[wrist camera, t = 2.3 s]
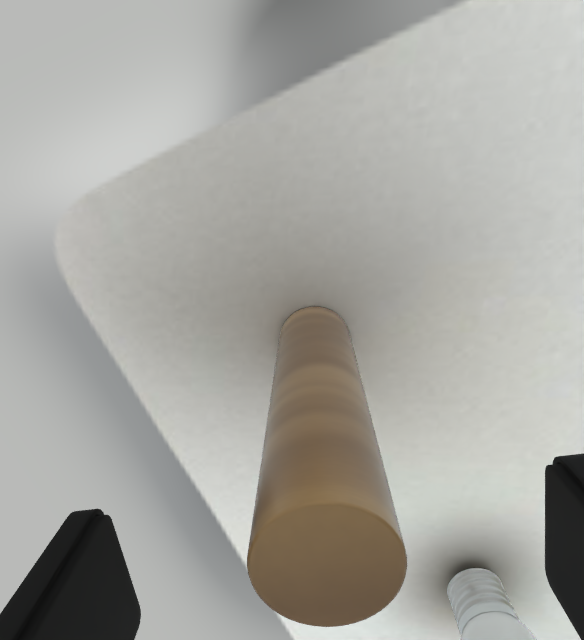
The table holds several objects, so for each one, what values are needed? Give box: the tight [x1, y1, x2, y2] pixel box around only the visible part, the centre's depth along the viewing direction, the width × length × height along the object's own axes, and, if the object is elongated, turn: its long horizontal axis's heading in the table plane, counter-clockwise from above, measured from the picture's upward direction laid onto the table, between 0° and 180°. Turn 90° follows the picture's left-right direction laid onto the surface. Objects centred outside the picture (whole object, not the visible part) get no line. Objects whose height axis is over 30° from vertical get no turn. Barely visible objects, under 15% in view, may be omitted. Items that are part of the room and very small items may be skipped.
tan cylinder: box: [247, 307, 407, 627], centre depth 15 cm, size 3×3×12 cm
